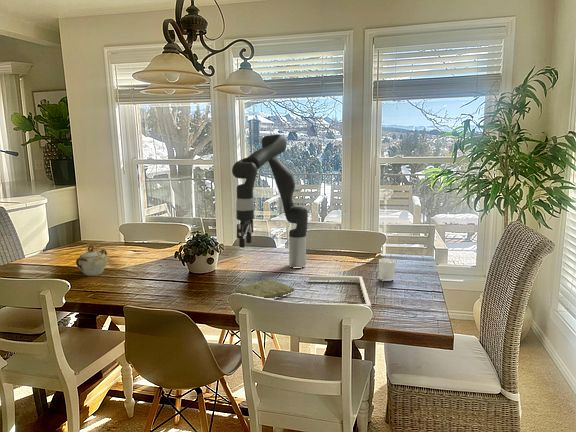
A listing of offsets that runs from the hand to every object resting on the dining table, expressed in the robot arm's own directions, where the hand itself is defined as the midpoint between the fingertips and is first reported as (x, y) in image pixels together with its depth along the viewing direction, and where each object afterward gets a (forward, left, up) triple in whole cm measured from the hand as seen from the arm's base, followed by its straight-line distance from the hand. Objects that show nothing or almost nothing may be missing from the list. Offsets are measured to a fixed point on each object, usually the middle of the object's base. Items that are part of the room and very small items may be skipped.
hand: (245, 245), depth 181 cm
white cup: (-24, +66, -23) cm, 73 cm away
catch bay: (-1, +40, -23) cm, 46 cm away
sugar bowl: (-25, -85, -23) cm, 92 cm away
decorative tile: (-1, +9, -23) cm, 25 cm away
